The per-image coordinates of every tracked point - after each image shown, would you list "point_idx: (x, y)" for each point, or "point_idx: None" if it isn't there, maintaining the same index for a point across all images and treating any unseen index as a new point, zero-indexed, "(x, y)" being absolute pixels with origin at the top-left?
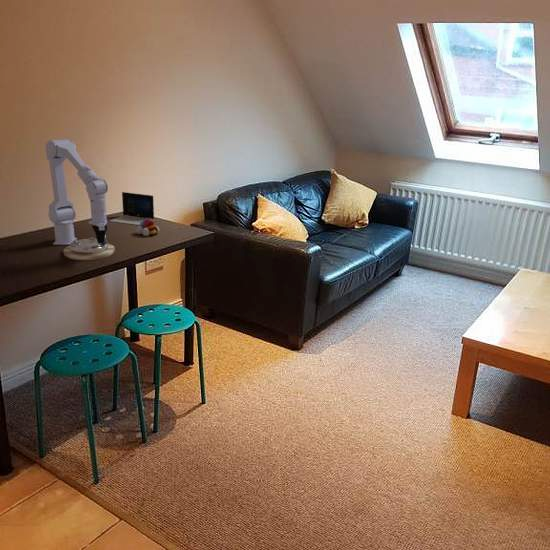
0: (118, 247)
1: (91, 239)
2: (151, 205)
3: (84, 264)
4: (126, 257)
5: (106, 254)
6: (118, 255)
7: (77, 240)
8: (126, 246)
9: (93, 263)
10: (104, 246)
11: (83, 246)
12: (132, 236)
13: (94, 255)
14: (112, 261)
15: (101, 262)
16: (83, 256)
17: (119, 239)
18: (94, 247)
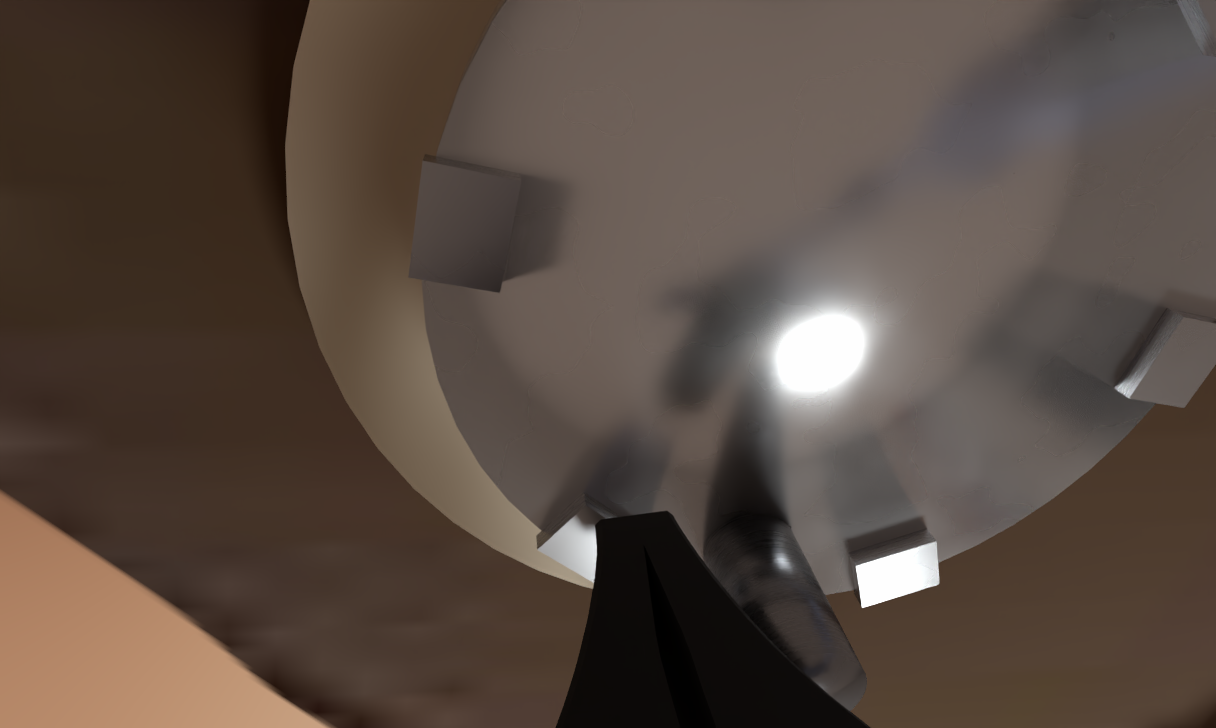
0: None
1: (1145, 342)
2: None
3: (6, 112)
4: (411, 680)
5: (447, 507)
6: (517, 603)
7: (1208, 29)
8: (874, 662)
9: (97, 285)
10: (579, 562)
11: (688, 171)
12: (1211, 693)
13: (357, 341)
14: (228, 548)
15: (168, 409)
16: (297, 122)
17: (1194, 591)
18: (548, 405)
